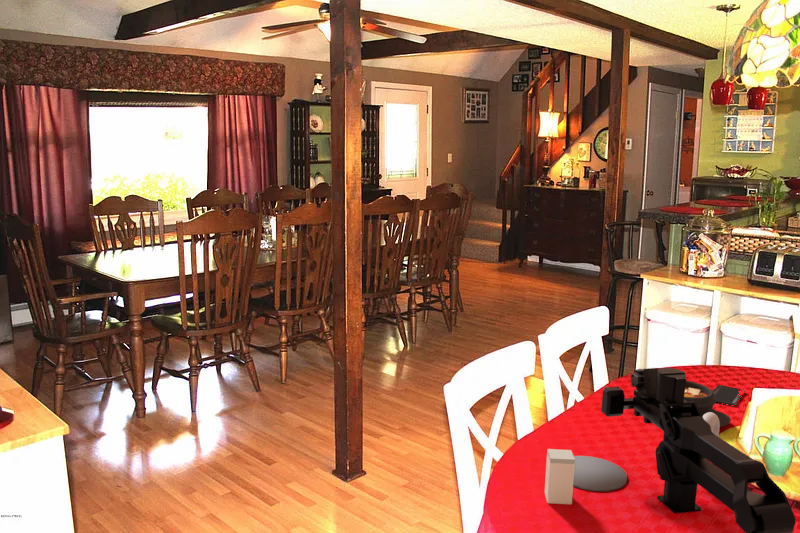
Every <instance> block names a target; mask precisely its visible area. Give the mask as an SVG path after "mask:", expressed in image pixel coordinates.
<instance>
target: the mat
mask: <svg viewBox="0 0 800 533" xmlns="http://www.w3.org/2000/svg"><path fill="white" fill-rule="evenodd" d="M573 456H574V458H575V467H574V480H573V488H576V489H581V490H583V491H591V492H611V491H615V490H619V489H621V488H623V487H624V486H625V485H626V484H627V481H628V474H627V472H626V470H624V469H623V468H622V467H621V466H619V465H618V464H616V463H614V462H612V461H610V460H607V459H604V458H600V457H595V456H589V455H573Z"/></svg>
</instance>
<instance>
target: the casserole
mask: <svg viewBox="0 0 800 533" xmlns="http://www.w3.org/2000/svg"><path fill="white" fill-rule="evenodd" d="M684 400H686V401H687V402H695V403H696V405H697V407H698V409H699V411H700V413H701V415H702V416H703V415H704V414H706V413H708V412H712V413H714V414H716V415H717V416H718V418H719V422H720V428H721V427H725V426H727V425H729V424H730V423H731V421H732V420H731V418H730V416H729V415H727V414H726V413H724V412H722V411H719V410H716V409H714V408H713V407H714V405H715V404H717V403H716V402H717V400H716V398H715V397H714V393H713V390H712V389H711V388H709V387H708V386H706V385H705V384H701V383H698V382H694V381H691V380H690V381H689V380H686V387H685V393H684ZM683 415H684V416H692V415H691V413H683Z"/></svg>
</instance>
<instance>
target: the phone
mask: <svg viewBox="0 0 800 533" xmlns="http://www.w3.org/2000/svg"><path fill="white" fill-rule="evenodd" d="M738 389H739V390H738ZM740 390H743V389H742V388H736V387H733V386H728V385H723V384H718V385H716V386H715V387H714V389H713V390H712V391H713V393H714V397H715V398H716V400H717V402H718V403H723V404H728V405H735V404H736V403H737V402H738V400H739V399H740V397H741V396H742V395H741V396H739V395H738V394H739V392H738V391H740ZM744 392H745V393H746V390H745V391H744ZM737 395H738V396H737ZM740 400H741V399H740ZM738 403H739V402H738ZM738 403H737V404H738ZM723 404H722V405H723ZM737 404H736V405H737Z"/></svg>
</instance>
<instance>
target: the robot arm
mask: <svg viewBox="0 0 800 533" xmlns="http://www.w3.org/2000/svg"><path fill="white" fill-rule="evenodd" d="M629 378H630V386H631V387H633V388H636V389H633V397H627V398H626V396H625V392H624V390H623V389H622V388H621V387H620V386H604V389H603V390H602V396H601V397H602V399H601V409H600V410H601V413H602V414H603V415H604V416H606V417H608V418H609V417H610V418H611V417H622V415H623V414H624V410H633V415H634V416H635V417H642V418H643V423H645V424H653V425H654V426H655V427H657V428H659V429H660V430H661V431H663V435H662V436H663V438H662V440H660V442H659V444H658V446H657V447H656V448H655V462H656V471H657V474H658V475H659V480H661V481H664V486H663V494H662V495H657V500H659V502H660V503H662V505H664V506H665V507H666V508H667V509H668V510H669V511H670V512H672V513H673V514H682V513H683V514H684V513H691V512H701V511H702V507H701V506H700V505H698V504H697V503H696V502H697V501H696V500H697V491H698V485H699V486H700V487H701V488H703V490H705V491H707V493H709V494H710V495H712V496H713V497H714V498H716V499H717V500H718V501H720V502H721V503H722V504H724V505H725V507H726V508H728V509H730V510H731V511H732V512H733V513H734V519H735V524H737V525H738V527H739V528H740V529H741V530H742V531H743V532H744V533H793V532H794V531H795V530H794V529H795V526H796V517H795V513H794V511H793V509H792V507H791V505H790V502H789V500H788V497H787V495H786V493H785V492H784V490H782V489H781V488H780V487H779V486H778V484H776V482H774V480H773V479H772V478H771V477H770V476H769V474H768V471H767V468H766V467H765V465H764V463H763V462H762V461H759V460H756V459H753V458H752V457H750V456H749V455H747V454H746V453H744V452H743V451H741V450H739V449H738V448H736V447H734V445H732V444H730V443H729V442H727V441H725V440H724V439H722V438H721V437H720V436H716V435H715V434H714V433H712V430H711V426H710V425H709V424H708V423H707V422H706V421H705V420H704V419H703V417H702V415H701V413H700V411H699V409H698V407H697V405H696V403H695V402H687V401H686V400H684V393H685V387H686V381H687V374H686V372H685V371H684V370H682V369H679V368H672V367H660V368H659V367H652V368H637V369H635V370H634V373H630V377H629ZM683 413H691V415H692V416H684V415H683ZM749 484H755V485H756V486H757V487H758V488H759V490H760V491H762V493H764V494H761V493H758V492H753V491H751V489H749V488H748V487H749V486H748V485H749Z"/></svg>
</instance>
